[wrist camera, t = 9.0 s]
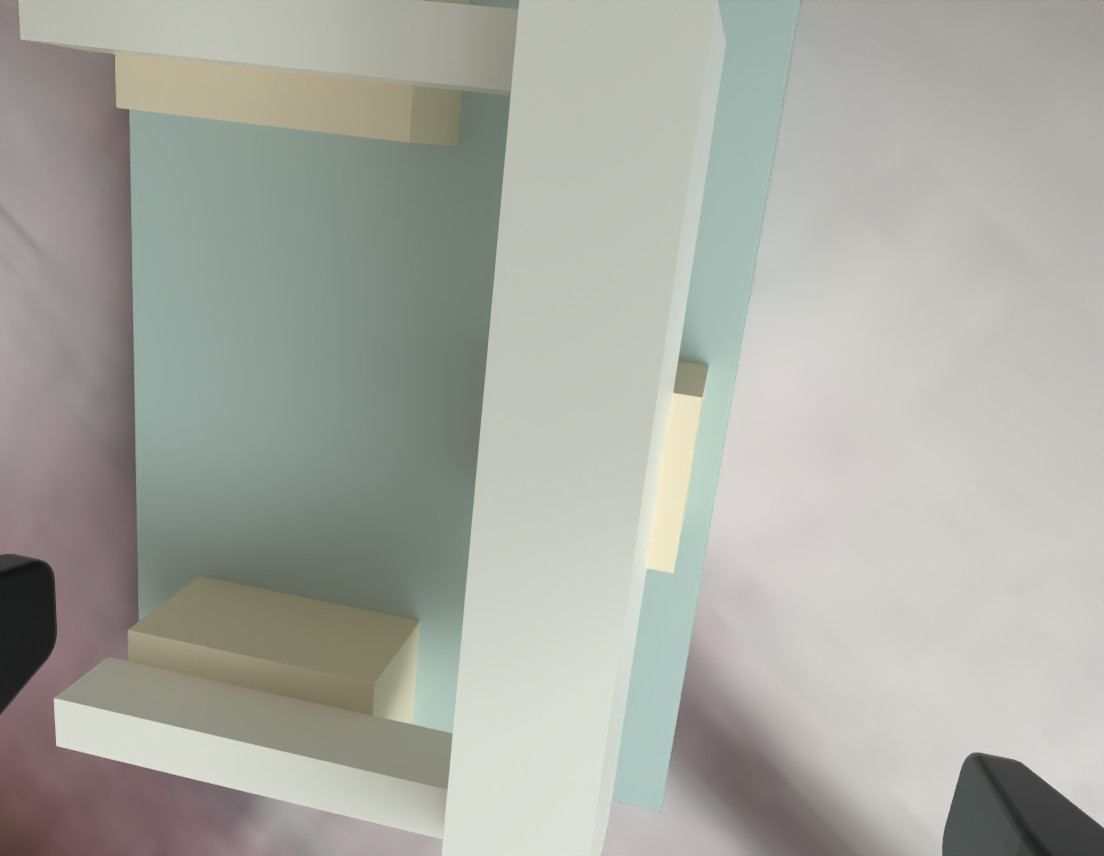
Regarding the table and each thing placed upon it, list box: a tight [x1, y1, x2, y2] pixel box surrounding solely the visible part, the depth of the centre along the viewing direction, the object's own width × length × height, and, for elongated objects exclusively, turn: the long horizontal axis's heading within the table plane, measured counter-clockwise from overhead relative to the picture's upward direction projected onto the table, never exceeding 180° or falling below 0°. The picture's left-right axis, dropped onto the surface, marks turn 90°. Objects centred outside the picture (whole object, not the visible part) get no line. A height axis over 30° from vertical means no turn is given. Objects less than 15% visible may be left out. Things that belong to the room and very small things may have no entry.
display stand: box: [115, 0, 801, 812], centre depth 18 cm, size 12×16×4 cm
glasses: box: [18, 0, 726, 856], centre depth 14 cm, size 10×13×4 cm
